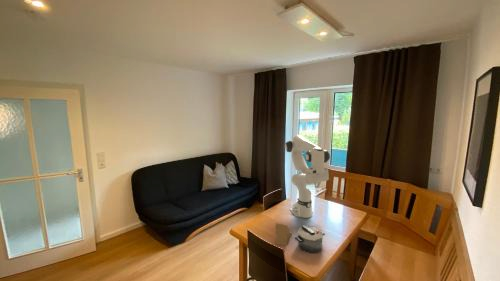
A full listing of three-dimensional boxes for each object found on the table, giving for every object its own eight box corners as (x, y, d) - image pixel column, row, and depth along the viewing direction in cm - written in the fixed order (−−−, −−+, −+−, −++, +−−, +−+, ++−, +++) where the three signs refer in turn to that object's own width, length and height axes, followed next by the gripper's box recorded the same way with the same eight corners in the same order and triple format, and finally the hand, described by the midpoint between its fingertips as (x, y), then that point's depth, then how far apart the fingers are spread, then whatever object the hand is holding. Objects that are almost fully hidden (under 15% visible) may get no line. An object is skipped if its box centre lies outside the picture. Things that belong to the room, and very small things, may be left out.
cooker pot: (290, 243, 149) (290, 232, 148) (314, 236, 158) (314, 225, 157) (305, 257, 135) (305, 244, 134) (330, 248, 144) (330, 236, 143)
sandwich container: (292, 234, 161) (292, 216, 159) (287, 246, 147) (287, 225, 145) (281, 232, 164) (281, 214, 163) (275, 243, 150) (275, 223, 149)
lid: (293, 231, 149) (293, 227, 149) (311, 225, 156) (311, 222, 156) (309, 244, 134) (309, 239, 134) (328, 237, 141) (329, 233, 141)
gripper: (325, 167, 162) (324, 184, 164) (304, 169, 154) (303, 188, 155) (331, 168, 157) (330, 186, 158) (309, 171, 148) (309, 190, 150)
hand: (317, 187), depth 157 cm, fingers closed
